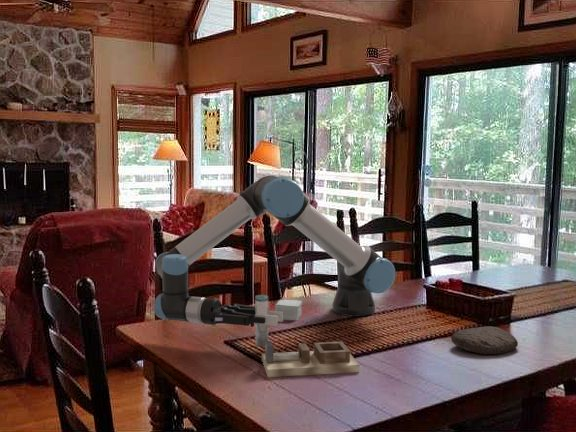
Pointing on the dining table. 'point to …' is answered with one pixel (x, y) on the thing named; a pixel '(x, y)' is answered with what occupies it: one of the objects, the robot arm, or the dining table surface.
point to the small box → (289, 309)
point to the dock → (314, 361)
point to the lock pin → (277, 357)
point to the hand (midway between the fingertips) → (279, 318)
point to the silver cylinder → (260, 329)
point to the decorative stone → (485, 340)
